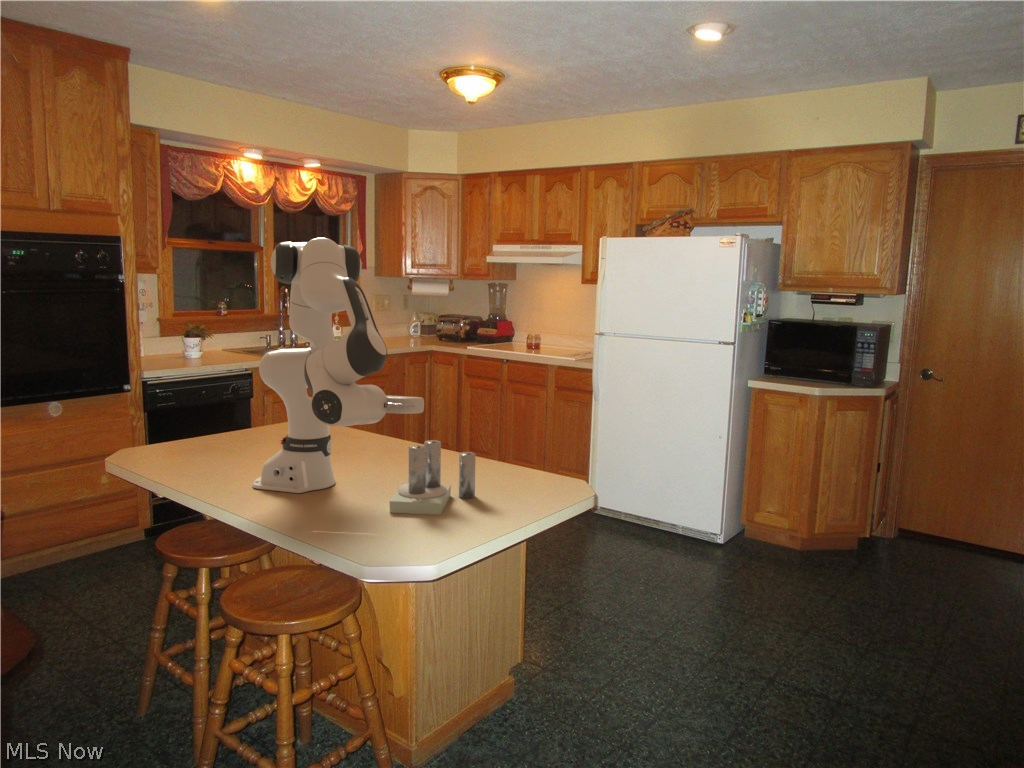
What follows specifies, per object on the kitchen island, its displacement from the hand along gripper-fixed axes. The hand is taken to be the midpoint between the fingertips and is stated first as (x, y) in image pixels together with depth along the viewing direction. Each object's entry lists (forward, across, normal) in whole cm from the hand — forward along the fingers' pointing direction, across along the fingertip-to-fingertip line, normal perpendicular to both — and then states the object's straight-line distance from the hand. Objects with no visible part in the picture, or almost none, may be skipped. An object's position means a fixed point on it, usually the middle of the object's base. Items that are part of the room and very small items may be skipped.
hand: (397, 402), depth 172 cm
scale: (+15, 0, +27) cm, 31 cm away
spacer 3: (+26, -8, +26) cm, 38 cm away
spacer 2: (+20, -1, +23) cm, 30 cm away
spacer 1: (+13, 0, +24) cm, 27 cm away
